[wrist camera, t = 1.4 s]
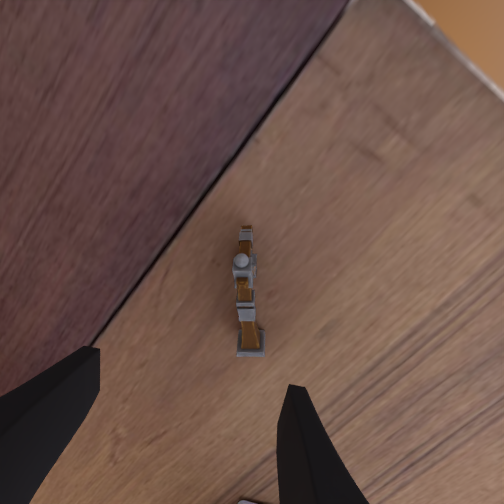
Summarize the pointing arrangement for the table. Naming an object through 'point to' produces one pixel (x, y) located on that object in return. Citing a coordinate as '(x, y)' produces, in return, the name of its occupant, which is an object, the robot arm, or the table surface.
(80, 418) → the robot arm
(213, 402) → the table surface
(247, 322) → the wooden post with brackets
